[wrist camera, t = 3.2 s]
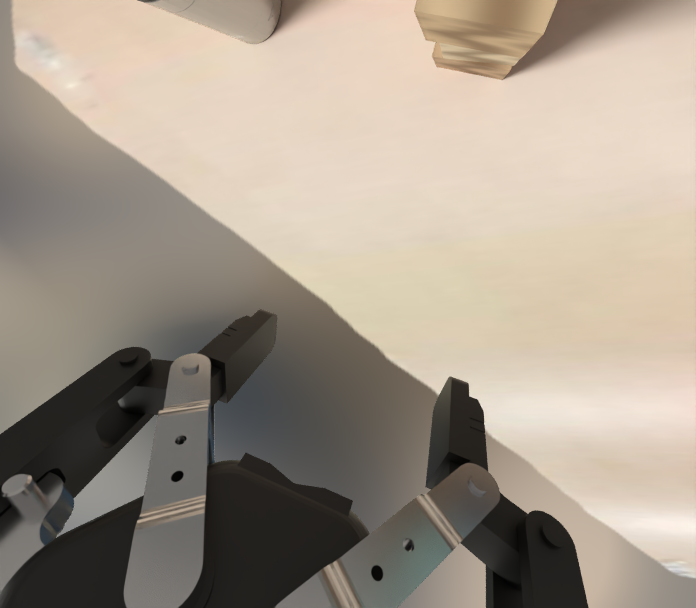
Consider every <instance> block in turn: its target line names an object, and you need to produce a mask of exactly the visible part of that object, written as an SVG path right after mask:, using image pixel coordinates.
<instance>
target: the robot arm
mask: <svg viewBox="0 0 696 608" xmlns="http://www.w3.org/2000/svg"><path fill="white" fill-rule="evenodd" d="M138 1H141V2H144V3H147V4H149V5H152V6H154V7H157V8H159V9H162V10H165V11H167V12H170V13H173V14H175V15H178V16H180V17H183V18H185V19H188V20H190V21H193V22H195V23H198V24H200V25H203V26H205V27H208V28H211V29H213V30H216V31H218V32H221V33H223V34H226V35H228V36H230V37H233V38H236V39H238V40H241V41H243V42H246V43H250V44H256V43H260V42H262V41H264V40H266V39H267V38H268V37H269V36H270V35H271V34H272V32H273V31H274V29H275V27H276V25H277V23H278V19H279V16H280V9H281V0H138ZM276 327H277V315H276V314H273V313H270V312H268V311H265V310H262V309H260V310H259V311H257V312H256V313H255V314H254V315H253V316H252V317H249V316H245V317H242V318H240V319H237V320H235V322H233V323H232V324H231V325H230V326H228V328H226V329H225V330H224V331H223V332H222V333H221V334H219V335H218V336H217V337H216V338H214V339H213V340H212V341H211V342H210V343H209V344H207V345H206V346H205V347H204V348H203V349H202V350H200V351H199V352H198V353H197V354H194V353H193V354H187V355H183V356H181V357H179V358H178V359H176V360H175V361H166V360H156V359H151V354H150V352H149V351H148V350H146V349H144V348H140V347H131V348H125V349H122V350H119V351H117V352H115V353H114V354H112V355H111V356H109V357H108V358H107V359H105V360H104V361H102V362H101V363H100V364H98V365H97V366H95V367H94V368H93V369H91V370H90V371H88V372H87V373H86V374H84V375H83V376H81V377H80V378H79V379H77V380H76V381H74V382H73V383H72V384H70V385H69V386H67V387H66V388H65V389H63V390H62V391H60V392H59V393H58V394H56V395H55V396H53V397H52V398H51V399H49V400H48V401H46V402H45V403H44V404H42V405H41V406H39V407H38V408H37V409H35V410H34V411H32V412H31V413H30V414H28V415H27V416H25V417H24V418H22V419H21V420H20V421H18V422H17V423H16V424H14V425H13V426H11V427H10V428H8V429H7V430H6V431H4V432H3V433H1V434H0V608H398V606H399V605H400V604H401V603H402V602H403V601H404V600H405V599H406V598H407V597H408V596H409V595H410V594H411V593H412V592H413V591H414V590H415V589H416V588H417V587H418V586H419V585H420V584H421V583H422V582H423V581H424V579H426V577H428V576H429V574H430V573H431V572H432V571H433V570H434V569H435V568H436V567H437V566H438V565H439V564H440V563H441V562H442V561H443V560H444V559H445V558H446V557H447V556H448V555H449V554H450V553H451V552H452V551H453V550H454V549H455V548H456V547H457V545H458V544H459V543H461V544H462V545H463V546H465V547H466V548H467V549H468V550H469V551H470V552H472V553H473V554H474V555H475V556H476V557H478V558H479V559H480V560H481V561H482V562H483V563H485V564H486V608H588V604H587V599H586V594H585V590H584V585H583V581H582V576H581V572H580V567H579V562H578V558H577V553H576V549H575V545H574V543H573V540H572V538H571V537H570V535H569V533H568V532H567V530H566V529H565V528H564V527H563V526H562V524H561V523H560V522H559V521H557V520H556V519H555V518H553V517H552V516H551V515H549V514H547V513H545V512H542V511H532V512H530V513H529V514H527V513H526V512H524V511H523V510H522V509H520V508H519V507H517V506H516V505H515V504H514V503H512V502H511V501H509V500H508V499H507V498H506V497H504V496H503V495H502V494H501V493H500V491H499V487H498V485H497V483H496V481H495V479H494V478H493V477H492V475H491V474H490V473H489V472H488V465H487V452H486V439H485V434H484V433H485V425H484V412H483V410H482V408H481V406H480V404H479V402H478V400H477V399H475V398H472V397H469V384H468V383H467V382H464V381H462V380H459V379H456V378H453V377H449V378H448V380H447V382H446V383H445V385H444V387H443V389H442V391H441V393H440V395H439V397H438V399H437V401H436V403H435V406H434V410H433V417H432V427H431V437H430V447H429V457H428V468H427V477H426V487H427V488H429V489H431V490H430V491H429V492H428V493H427V494H425V495H422V494H421V495H419V496H418V497H416V498H415V499H413V500H412V501H411V502H410V503H408V504H407V505H406V506H405V507H403V508H402V509H401V510H400V511H398V512H397V513H396V514H395V515H393V516H392V517H391V518H390V519H388V520H387V521H386V522H384V523H383V524H382V525H381V526H380V527H378V528H377V529H376V530H374V531H373V532H372V533H371V534H370V533H369V531H368V530H367V528H366V527H365V525H364V524H363V522H362V521H361V520H360V519H359V518H358V516H357V515H356V514H355V513H353V512H352V511H351V510H350V509H351V505H352V502H353V501H352V500H350V499H348V498H345V497H343V496H340V495H339V494H336V493H334V492H332V491H330V490H327V489H325V488H319V487H312V486H306V485H299V484H295V483H293V482H291V481H290V480H289V479H288V478H287V477H285V476H284V475H283V474H282V473H281V472H279V471H278V470H277V469H276V468H275V467H274V466H272V465H271V464H270V463H268V462H265V461H263V460H261V459H259V458H256V457H254V456H252V455H250V454H247V453H245V455H244V456H243V458H242V459H241V461H239V460H227V461H221V462H217V463H215V455H214V422H215V421H214V419H215V411H214V410H215V408H214V404H215V403H216V402H217V401H218V400H219V401H222V402H224V403H228V402H229V401H230V400H231V398H232V397H233V396H234V395H235V394H236V392H237V391H238V390H239V389H240V388H241V386H242V385H243V384H244V383H245V382H246V381H247V379H248V378H249V377H250V376H251V375H252V374H253V372H254V371H255V370H256V369H257V368H258V366H259V365H260V364H261V363H262V362H263V360H264V359H265V358H266V357H267V356H268V354H269V353H270V352H271V351H272V349H273V347H274V344H275V340H276ZM154 415H158V417H157V423H156V429H155V434H154V440H153V446H152V452H151V458H150V463H149V469H148V475H147V481H146V486H145V492H144V496H142V497H140V498H137V499H135V500H133V501H131V502H129V503H127V504H125V505H123V506H121V507H118V508H117V509H114V510H112V511H110V512H108V513H106V514H104V515H102V516H100V517H97V518H95V519H94V520H91V521H90V522H87V523H85V524H83V525H81V526H78V527H76V528H74V529H72V530H70V531H68V532H66V533H64V534H62V535H60V536H59V537H57V535H58V534H59V533H60V532H61V531H62V530H63V528H64V526H65V523H66V522H67V520H68V519H69V517H70V516H71V514H72V511H73V508H74V497H76V496H77V494H78V493H79V492H80V491H81V490H82V489H83V488H84V487H85V486H86V485H87V484H88V483H89V482H90V481H91V480H92V479H93V478H94V477H95V476H96V475H97V474H98V473H99V472H100V471H101V470H102V469H103V468H104V467H105V466H106V464H107V463H109V461H110V460H111V459H112V458H113V457H114V456H115V455H116V454H117V453H118V452H119V451H120V450H121V449H122V448H123V447H124V446H125V445H126V444H127V443H128V442H129V441H130V440H131V439H132V438H133V437H134V436H135V435H136V433H138V432H139V430H140V429H141V428H142V427H143V426H144V425H145V424H146V423H147V422H148V421H149V420H150V419H151V418H152V417H153V416H154ZM56 537H57V538H56Z"/></svg>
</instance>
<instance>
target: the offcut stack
mask: <svg viewBox="0 0 696 608" xmlns="http://www.w3.org/2000/svg"><path fill="white" fill-rule="evenodd" d="M557 1H558V0H417V1H416V5H415V10H414V12H415V14H416V17H417V19H418V22H419V24H420V27H421V29H422V32H423V34H424V37H425V39H426V40H428V41H433V42H436V43H435V47H434V51H433V54H432V57H433V59H434V62H435V64H436V67H441V68H446V69H451V70H456V71H461V72H466V73H471V74H476V75H481V76H486V77H491V78H495V79H500V80H503V79H504V77H505V76H506V75H507V74H508V73H509V72H510V70H511V68H512V66H514V65H515V64H516V63H517V62H518V61H519V60H520V59H521V58H522V57H523V56H524V55H525V54H526V53H527V52H528V51H529V50H530V49H531V47H532V46H533V45H534V44H535V43H536V42H537V41H538V40H539V39H540V37H541V36H542V35H543V34H544V32H545V30H546V27H547V25H548V23H549V20H550V18H551V15H552V13H553V10H554V8H555V6H556V3H557Z"/></svg>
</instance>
